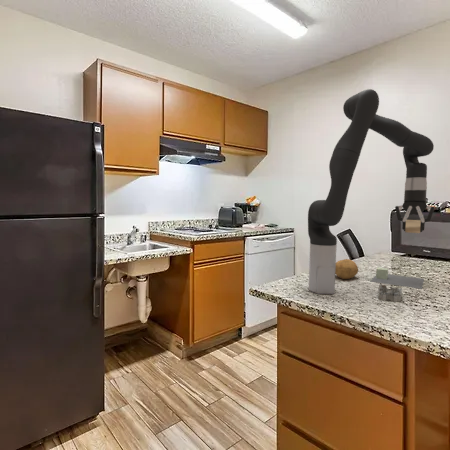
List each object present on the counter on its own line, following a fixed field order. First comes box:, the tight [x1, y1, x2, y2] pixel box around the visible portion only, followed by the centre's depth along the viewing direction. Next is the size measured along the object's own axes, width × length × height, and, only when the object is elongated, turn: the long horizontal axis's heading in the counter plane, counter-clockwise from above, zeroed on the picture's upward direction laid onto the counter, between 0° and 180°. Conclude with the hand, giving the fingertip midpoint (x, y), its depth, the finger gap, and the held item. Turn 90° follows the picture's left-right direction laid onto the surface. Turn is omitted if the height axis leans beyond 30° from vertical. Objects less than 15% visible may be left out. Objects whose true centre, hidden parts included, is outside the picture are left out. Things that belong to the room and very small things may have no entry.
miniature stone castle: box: [377, 283, 403, 303], centre depth 106 cm, size 10×7×4 cm
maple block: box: [404, 219, 421, 234], centre depth 124 cm, size 5×5×5 cm
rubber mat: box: [370, 273, 425, 290], centre depth 129 cm, size 20×18×1 cm
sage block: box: [375, 267, 389, 280], centre depth 132 cm, size 4×4×4 cm
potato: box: [335, 258, 359, 280], centre depth 131 cm, size 10×14×8 cm
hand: (413, 231), depth 125 cm, fingers closed on maple block, 5 cm apart
